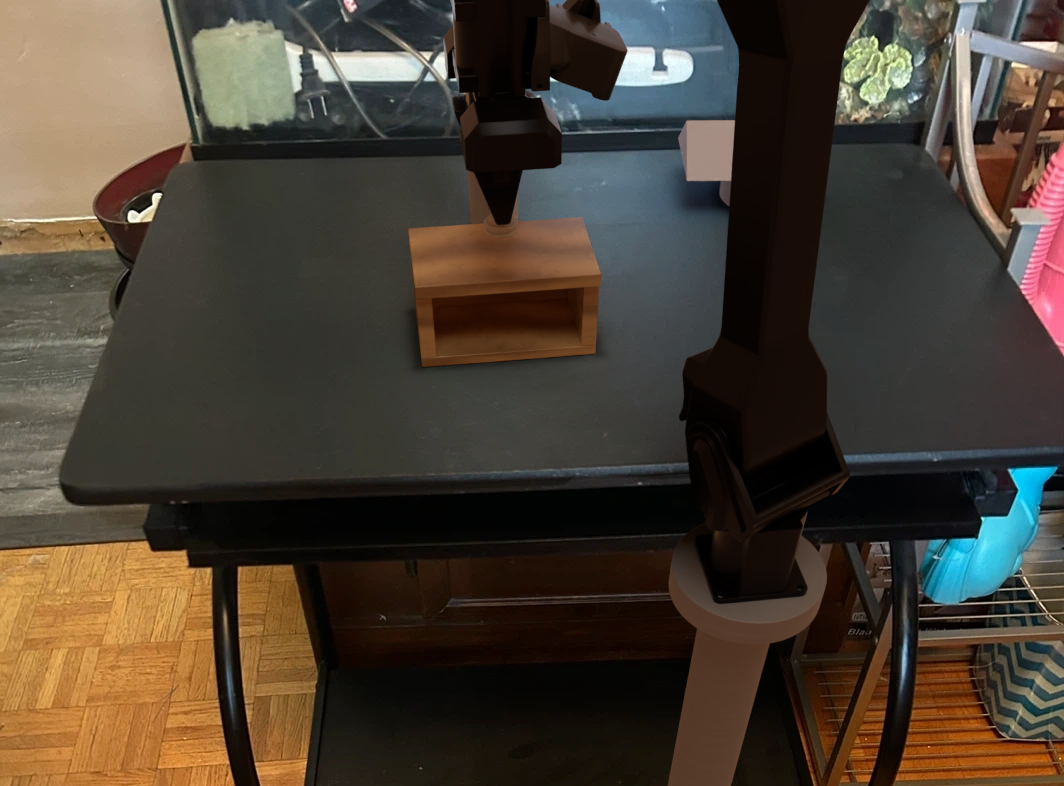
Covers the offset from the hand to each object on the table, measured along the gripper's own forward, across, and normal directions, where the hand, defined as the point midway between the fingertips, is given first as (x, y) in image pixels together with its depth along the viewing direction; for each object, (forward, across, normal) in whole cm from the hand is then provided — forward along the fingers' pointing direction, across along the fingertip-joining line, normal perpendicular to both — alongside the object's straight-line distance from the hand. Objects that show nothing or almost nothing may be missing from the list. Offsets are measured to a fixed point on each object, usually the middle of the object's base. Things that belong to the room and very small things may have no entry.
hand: (501, 217), depth 77 cm
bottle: (+10, +16, -1) cm, 19 cm away
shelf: (+10, 0, 0) cm, 10 cm away
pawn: (+1, 0, 0) cm, 1 cm away
